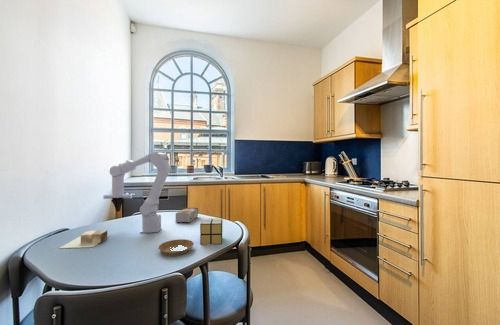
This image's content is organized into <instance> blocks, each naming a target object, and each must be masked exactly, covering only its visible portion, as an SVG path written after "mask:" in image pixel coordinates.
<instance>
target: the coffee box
mask: <svg viewBox="0 0 500 325" xmlns="http://www.w3.org/2000/svg"><path fill="white" fill-rule="evenodd" d="M197 216H198V217H199V208H198V207H185V208H182V209H180V210H179V211H177V212H175V219H174V220H175V221H174V222H175V223H176V222H190V221H191V222H192V221H194V220H195V219H197V218H198V217H197ZM196 217H197V218H196ZM194 218H195V219H194ZM193 219H194V220H193ZM191 222H190V223H191Z"/></svg>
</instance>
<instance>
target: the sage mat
mask: <svg viewBox="0 0 500 325" xmlns="http://www.w3.org/2000/svg"><path fill="white" fill-rule="evenodd" d="M110 236H111V235H110V234H107V238H108V237H110ZM97 245H99V243H81V235H80V236H78V237H76V238H74V239H72V240H71V241H69V242H67V243H65V244H64V245H62V246H59V248H58V249H59V250H60V249H61V250H64V249H84V248H86V249H87V248H88V249H89V248H94V247H96V246H97Z"/></svg>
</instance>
